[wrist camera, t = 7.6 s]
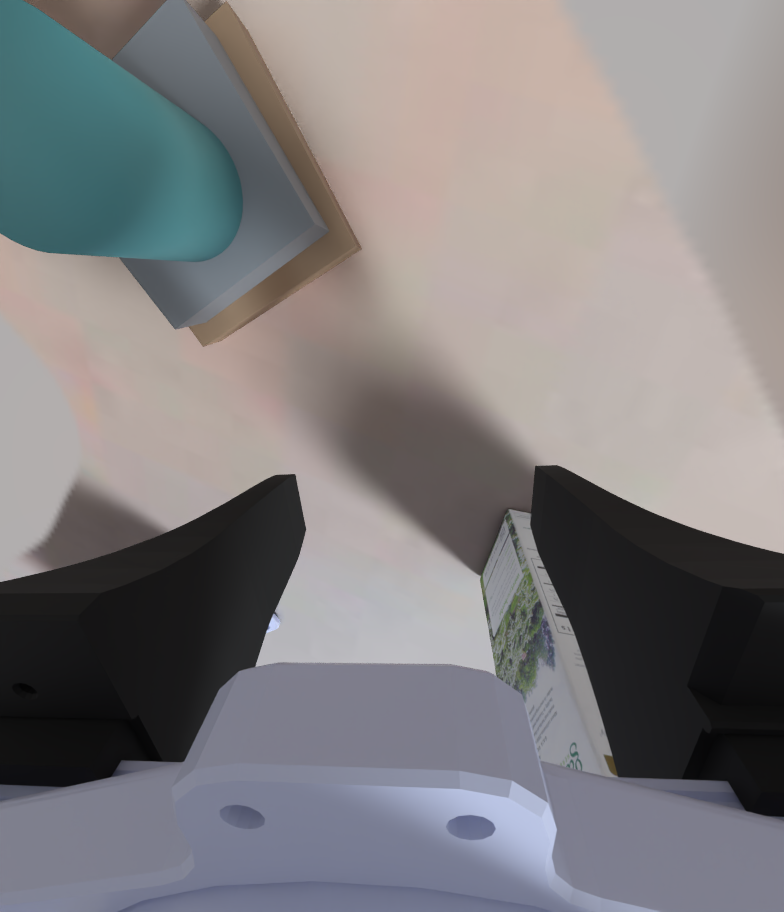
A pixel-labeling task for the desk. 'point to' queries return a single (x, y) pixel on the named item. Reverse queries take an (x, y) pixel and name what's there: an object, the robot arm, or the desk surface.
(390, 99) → the desk surface
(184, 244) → the teal capsule
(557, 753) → the syrup box
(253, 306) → the walnut slab
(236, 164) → the grey slab
